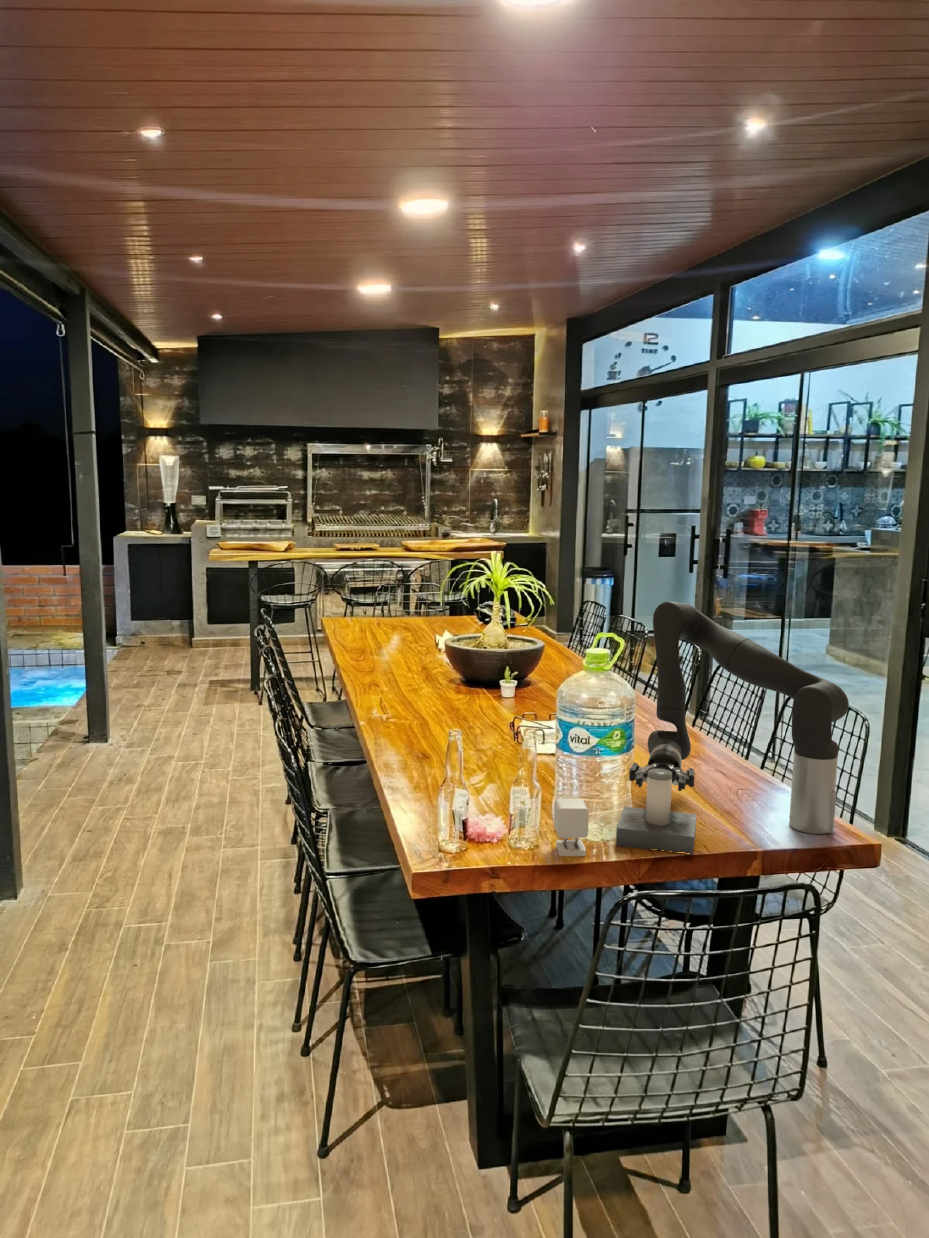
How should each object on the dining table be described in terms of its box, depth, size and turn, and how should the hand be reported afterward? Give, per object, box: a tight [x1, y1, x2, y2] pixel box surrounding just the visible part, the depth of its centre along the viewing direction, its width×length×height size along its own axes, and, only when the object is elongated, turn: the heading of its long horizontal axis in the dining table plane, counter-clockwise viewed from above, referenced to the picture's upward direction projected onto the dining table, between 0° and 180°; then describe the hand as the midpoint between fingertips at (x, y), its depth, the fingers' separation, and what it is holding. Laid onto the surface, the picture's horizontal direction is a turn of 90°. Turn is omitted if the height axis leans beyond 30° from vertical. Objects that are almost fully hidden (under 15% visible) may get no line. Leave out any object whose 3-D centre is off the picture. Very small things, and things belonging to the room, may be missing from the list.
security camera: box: [553, 798, 590, 857], centre depth 195 cm, size 6×7×10 cm
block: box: [615, 806, 697, 855], centre depth 202 cm, size 16×14×4 cm
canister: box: [645, 769, 673, 825], centre depth 201 cm, size 5×5×11 cm
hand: (659, 784), depth 201 cm, fingers open, 8 cm apart
